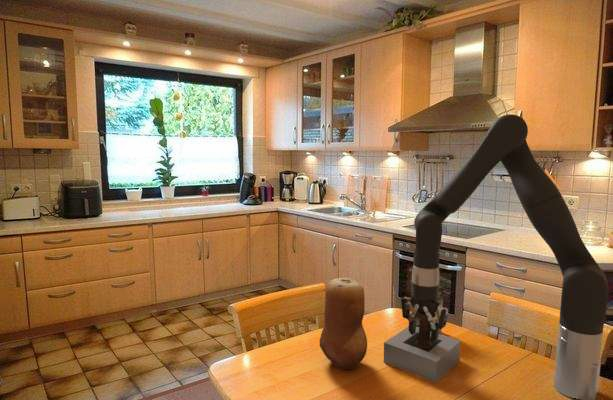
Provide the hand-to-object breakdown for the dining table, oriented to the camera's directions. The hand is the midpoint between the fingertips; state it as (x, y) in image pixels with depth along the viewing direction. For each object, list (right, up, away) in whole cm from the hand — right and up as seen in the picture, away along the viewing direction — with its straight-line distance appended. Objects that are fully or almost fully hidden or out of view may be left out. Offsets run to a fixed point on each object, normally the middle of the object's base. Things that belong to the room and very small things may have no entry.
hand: (422, 336), depth 120 cm
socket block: (0, -7, +1) cm, 8 cm away
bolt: (0, -8, +1) cm, 8 cm away
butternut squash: (-23, -8, -1) cm, 25 cm away
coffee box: (+7, -5, +19) cm, 21 cm away
